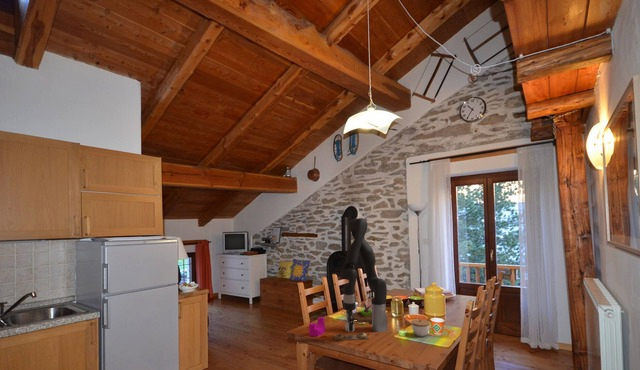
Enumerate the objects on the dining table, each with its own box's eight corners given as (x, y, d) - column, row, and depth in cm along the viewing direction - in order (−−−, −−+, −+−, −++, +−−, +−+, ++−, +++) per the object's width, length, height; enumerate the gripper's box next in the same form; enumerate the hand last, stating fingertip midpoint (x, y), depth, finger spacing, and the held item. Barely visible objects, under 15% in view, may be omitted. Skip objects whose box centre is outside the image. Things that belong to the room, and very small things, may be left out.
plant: (348, 316, 261) (347, 300, 261) (372, 313, 266) (372, 298, 266) (358, 324, 241) (357, 308, 242) (384, 321, 246) (383, 305, 247)
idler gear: (354, 328, 219) (353, 321, 219) (355, 331, 214) (355, 324, 214) (344, 328, 219) (344, 321, 219) (346, 332, 213) (346, 324, 214)
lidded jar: (413, 330, 227) (413, 315, 227) (431, 332, 222) (430, 317, 222) (410, 336, 217) (409, 320, 217) (428, 338, 212) (427, 323, 213)
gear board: (366, 335, 220) (366, 330, 220) (368, 339, 214) (368, 334, 214) (333, 337, 218) (333, 332, 219) (334, 341, 212) (334, 336, 212)
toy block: (318, 337, 220) (317, 325, 220) (309, 336, 223) (309, 324, 223) (328, 329, 234) (327, 318, 234) (319, 328, 236) (319, 317, 237)
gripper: (357, 304, 210) (358, 333, 210) (353, 297, 225) (354, 325, 224) (345, 304, 210) (345, 333, 209) (341, 298, 224) (342, 325, 223)
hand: (350, 329), depth 216 cm, fingers closed on idler gear, 5 cm apart
